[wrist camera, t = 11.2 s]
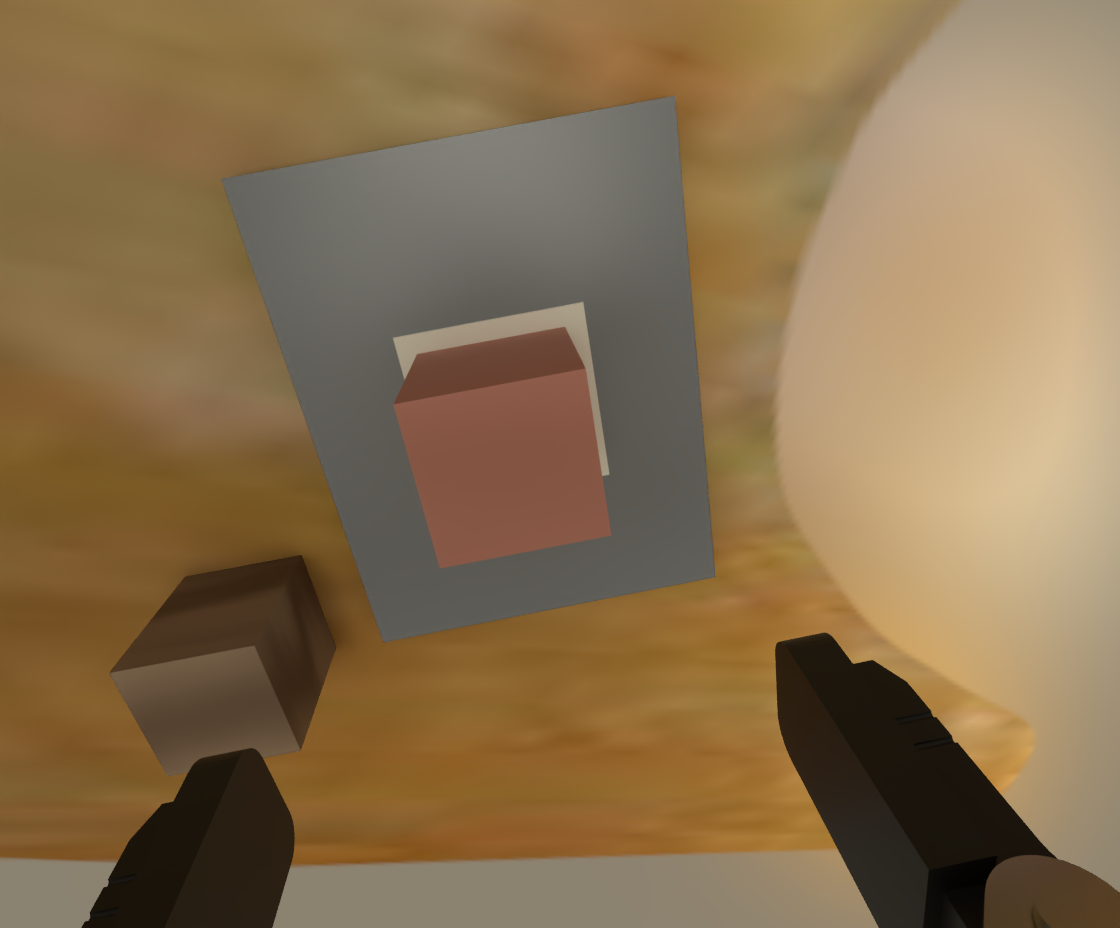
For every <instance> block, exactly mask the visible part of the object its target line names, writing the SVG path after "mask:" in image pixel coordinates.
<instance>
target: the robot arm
mask: <svg viewBox="0 0 1120 928" xmlns="http://www.w3.org/2000/svg"><path fill="white" fill-rule="evenodd" d="M775 658H776V682H777V706H778V720H779V725H780V730H781V734H782V737H783V740H784V743H785V746H786V749H787V751H788V754H789V756H790V758H791V760H792V762H793V764H794V766H795V768H796V770H797V772H798V774H799V776H800V777H801V779H802V781H803V783H804V785H805V787H806V789H807V791H808V793H809V795H810V797H811V799H812V800H813V802H814V804H815V806H816V808H817V810H818V812H819V814H820V816H821V818H822V820H823V822H824V823H825V825H826V827H827V829H828V831H829V833H830V835H831V837H832V839H833V841H834V843H835V845H836V846H837V848H838V850H839V852H840V854H841V856H842V858H843V860H844V862H845V864H846V866H847V868H848V869H849V871H850V873H851V875H852V877H853V879H854V881H855V883H856V885H857V887H858V889H859V891H860V892H861V894H862V896H863V898H864V900H865V902H866V904H867V906H868V908H869V910H870V911H871V914H872V915H873V917H874V919H875V921H876V923H877V925H878V927H879V928H1120V892H1118V891H1117V890H1115V889H1114V888H1113V887H1112V886H1110V885H1109V884H1108V883H1107V882H1105V881H1103V880H1102V879H1100V878H1099V877H1097V876H1096V875H1094V874H1092V873H1090V872H1089V871H1087V870H1085V869H1083V868H1081V867H1079V866H1076V865H1074V864H1071V863H1069V862H1066V861H1063V860H1059V859H1057V858H1056V857H1055V856H1054V855H1053V854H1052V853H1050V852H1049V851H1048V849H1047V848H1046V847H1045V846H1044V845H1043V844H1042V843H1041V842H1040V841H1039V840H1038V838H1037V837H1036V836H1035V835H1034V834H1033V832H1032V831H1031V830H1030V829H1029V828H1028V826H1027V825H1026V824H1025V823H1024V822H1023V820H1022V819H1021V818H1020V817H1019V816H1018V815H1017V813H1016V812H1015V811H1014V810H1013V809H1012V807H1011V806H1010V805H1009V804H1008V803H1007V802H1006V800H1005V799H1004V798H1003V797H1002V795H1001V794H1000V793H999V792H998V791H997V789H996V788H995V787H994V786H993V785H992V783H991V782H990V781H989V780H988V779H987V777H986V776H985V775H984V774H983V773H982V771H981V770H980V769H979V768H978V767H977V765H976V764H975V763H974V762H973V761H972V759H971V758H970V757H969V756H968V755H967V753H966V752H965V751H964V750H963V749H962V747H961V746H960V745H959V744H958V743H955V742H954V741H953V739H952V735H951V734H950V733H949V732H948V731H947V729H946V728H945V727H944V726H943V725H942V723H941V722H940V721H939V720H938V719H937V717H933V716H932V713H931V710H930V709H929V708H928V707H927V706H926V704H925V703H924V702H923V701H922V700H921V698H920V697H919V696H918V695H917V694H916V692H915V691H914V690H913V689H912V688H911V686H910V685H909V684H908V683H907V682H906V681H905V680H903V679H901V678H900V677H898V676H897V675H895V674H894V673H892V672H890V671H889V670H887V669H886V668H884V667H883V666H881V665H880V664H878V663H876V662H875V661H873V660H871V661H866V662H861V663H856V664H853V663H852V662H851V661H850V659H849V658H848V657H847V655H846V654H845V653H844V651H843V650H842V649H841V647H840V646H839V645H838V643H837V642H836V641H835V640H834V638H833V637H832V636H831V635H830V634H828V633H820V634H815V635H810V636H805V637H801V638H796V639H791V640H786V641H781V642H778V643H777V644H776V649H775ZM294 839H295V838H294V825H293V820H292V817H291V814H290V812H289V810H288V808H287V806H286V804H285V802H284V800H283V798H282V796H281V794H280V792H279V790H278V788H277V786H276V784H275V782H274V780H273V778H272V776H271V774H270V772H269V770H268V768H267V766H266V764H265V762H264V760H263V758H262V756H261V754H260V753H259V752H258V751H257V750H256V749H254V748H248V749H243V750H238V751H233V752H228V753H223V754H218V755H214V756H209V757H204V758H201V759H199V760H197V761H196V762H195V763H194V764H193V765H192V767H191V769H190V770H189V772H188V774H187V776H186V778H185V780H184V782H183V784H182V786H181V788H180V790H179V792H178V794H177V796H176V798H175V799H174V801H173V802H169V803H165V804H162V805H161V806H160V807H159V808H158V809H157V810H156V811H155V813H154V814H153V815H152V816H151V817H150V818H149V819H148V820H147V821H146V823H145V824H144V825H143V826H142V827H141V828H140V829H139V830H138V831H137V833H136V834H135V835H134V836H133V837H132V838H131V839H130V841H129V842H128V844H127V846H126V848H125V850H124V851H123V853H122V855H121V857H120V859H119V860H118V862H117V864H116V866H115V868H114V870H113V871H112V873H111V875H110V877H109V879H108V881H109V884H108V886H107V887H104V888H103V890H102V891H101V893H100V895H99V897H98V899H97V900H96V902H95V904H94V906H93V908H92V910H91V912H90V919H89V921H86V922H84V924H83V926H82V928H272V927H273V923H274V920H275V916H276V913H277V910H278V906H279V903H280V899H281V896H282V892H283V889H284V886H285V882H286V879H287V876H288V872H289V869H290V865H291V862H292V858H293V852H294Z"/></svg>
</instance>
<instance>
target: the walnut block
mask: <svg viewBox="0 0 1120 928" xmlns="http://www.w3.org/2000/svg"><path fill="white" fill-rule="evenodd" d="M335 649H336V646H335V643H334V640H333V638H332V635H331V632H330V630H329V627H328V624H327V622H326V619H325V617H324V614H323V611H322V609H321V606H320V603H319V601H318V598H317V595H316V593H315V590H314V587H313V585H312V582H311V579H310V577H309V574H308V571H307V569H306V566H305V563H304V561H303V558H302V555H300V556H295V557H289V558H284V559H278V560H273V561H268V562H262V563H257V564H251V565H246V566H241V567H235V568H230V569H224V570H219V571H214V572H208V573H203V574H198V575H192V576H187V577H185V578H184V579H183V580H182V581H181V583H180V584H179V585H178V587H177V588H176V589H175V590H174V592H173V593H172V594H171V595H170V597H169V598H168V599H167V600H166V602H165V603H164V604H163V606H162V607H161V608H160V609H159V611H158V612H157V613H156V614H155V616H154V617H153V618H152V619H151V621H150V622H149V623H148V624H147V626H146V627H145V628H144V630H143V631H142V632H141V633H140V635H139V636H138V637H137V638H136V640H135V641H134V642H133V643H132V645H131V646H130V647H129V649H128V650H127V651H126V652H125V654H124V655H123V656H122V657H121V659H120V660H119V661H118V662H117V664H116V665H115V666H114V667H113V669H112V670H111V671H110V673H109V674H110V676H111V677H112V679H113V681H114V683H115V684H116V686H117V688H118V690H119V692H120V693H121V695H122V697H123V699H124V700H125V702H126V704H127V706H128V707H129V709H130V711H131V713H132V714H133V716H134V718H135V720H136V721H137V723H138V725H139V727H140V728H141V730H142V732H143V734H144V735H145V737H146V739H147V741H148V742H149V744H150V746H151V748H152V749H153V751H154V753H155V755H156V756H157V758H158V760H159V762H160V764H161V765H162V767H163V769H164V771H165V772H166V774H167V776H172V775H177V774H183V773H188V772H189V770H190V769H191V767H192V765H193V764H194V763H195V762H196V761H197V760H199V759H201V758H204V757H209V756H214V755H218V754H223V753H228V752H233V751H238V750H243V749H248V748H254V749H256V750H257V751H258V752H259V753H260V754H261V756H262V758H265V757H270V756H276V755H281V754H286V753H291V752H296V751H301V748H302V745H303V742H304V739H305V737H306V734H307V731H308V728H309V725H310V722H311V719H312V716H313V713H314V710H315V707H316V704H317V702H318V699H319V696H320V693H321V690H322V687H323V684H324V681H325V678H326V675H327V672H328V669H329V666H330V664H331V661H332V658H333V655H334V652H335Z"/></svg>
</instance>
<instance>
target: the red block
mask: <svg viewBox="0 0 1120 928" xmlns="http://www.w3.org/2000/svg"><path fill="white" fill-rule="evenodd" d="M393 405H394V409H395V412H396V416H397V420H398V423H399V427H400V430H401V434H402V437H403V441H404V444H405V448H406V451H407V455H408V458H409V462H410V465H411V469H412V472H413V476H414V479H415V483H416V486H417V490H418V493H419V497H420V500H421V504H422V507H423V511H424V514H425V518H426V521H427V525H428V529H429V532H430V536H431V539H432V543H433V546H434V550H435V553H436V557H437V560H438V564H439V567H440V568H445V567H450V566H455V565H461V564H466V563H471V562H476V561H482V560H487V559H492V558H497V557H502V556H508V555H513V554H518V553H523V552H528V551H534V550H539V549H544V548H549V547H555V546H560V545H565V544H570V543H575V542H581V541H586V540H591V539H596V538H601V537H607V536H611V530H610V524H609V517H608V510H607V504H606V497H605V491H604V484H603V478H602V471H601V465H600V458H599V452H598V445H597V439H596V432H595V426H594V419H593V412H592V406H591V399H590V393H589V386H588V380H587V373H586V368H585V366H584V364H583V362H582V360H581V358H580V356H579V354H578V352H577V350H576V348H575V346H574V344H573V342H572V340H571V338H570V336H569V334H568V332H567V330H566V328H565V327H560V328H555V329H549V330H544V331H539V332H533V333H528V334H522V335H517V336H512V337H506V338H501V339H495V340H490V341H485V342H479V343H474V344H468V345H463V346H458V347H452V348H447V349H442V350H436V351H431V352H425V353H420V354H417V355H416V357H415V359H414V361H413V364H412V366H411V368H410V370H409V372H408V374H407V376H406V378H405V381H404V383H403V385H402V387H401V389H400V391H399V393H398V395H397V398H396V400H395V402H394V404H393Z"/></svg>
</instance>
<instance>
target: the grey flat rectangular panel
mask: <svg viewBox="0 0 1120 928" xmlns="http://www.w3.org/2000/svg"><path fill="white" fill-rule="evenodd" d="M222 182H223V185H224V188H225V191H226V194H227V197H228V199H229V202H230V205H231V208H232V211H233V214H234V217H235V219H236V222H237V225H238V228H239V231H240V234H241V237H242V239H243V242H244V245H245V248H246V251H247V254H248V257H249V259H250V262H251V265H252V268H253V271H254V274H255V277H256V279H257V282H258V285H259V288H260V291H261V294H262V297H263V299H264V302H265V305H266V308H267V311H268V314H269V317H270V319H271V322H272V325H273V328H274V331H275V334H276V337H277V339H278V342H279V345H280V348H281V351H282V354H283V357H284V359H285V362H286V365H287V368H288V371H289V374H290V377H291V380H292V382H293V385H294V388H295V391H296V394H297V397H298V400H299V402H300V405H301V408H302V411H303V414H304V417H305V420H306V422H307V425H308V428H309V431H310V434H311V437H312V440H313V442H314V445H315V448H316V451H317V454H318V457H319V460H320V462H321V465H322V468H323V471H324V474H325V477H326V480H327V482H328V485H329V488H330V491H331V494H332V497H333V500H334V502H335V505H336V508H337V511H338V514H339V517H340V520H341V522H342V525H343V528H344V531H345V534H346V537H347V540H348V542H349V545H350V548H351V551H352V554H353V557H354V560H355V562H356V565H357V568H358V571H359V574H360V577H361V580H362V582H363V585H364V588H365V591H366V594H367V597H368V600H369V602H370V605H371V608H372V611H373V614H374V617H375V620H376V622H377V625H378V628H379V631H380V634H381V637H382V640H383V642H388V641H393V640H398V639H403V638H408V637H413V636H418V635H423V634H428V633H433V632H439V631H444V630H449V629H454V628H459V627H464V626H469V625H474V624H479V623H484V622H489V621H494V620H500V619H505V618H510V617H515V616H520V615H525V614H530V613H535V612H540V611H545V610H550V609H556V608H561V607H566V606H571V605H576V604H581V603H586V602H591V601H596V600H601V599H606V598H611V597H617V596H622V595H627V594H632V593H637V592H642V591H647V590H652V589H657V588H662V587H667V586H672V585H678V584H683V583H688V582H693V581H698V580H703V579H708V578H713V577H715V567H714V555H713V543H712V532H711V520H710V508H709V496H708V484H707V472H706V460H705V449H704V437H703V425H702V413H701V401H700V389H699V377H698V365H697V354H696V342H695V330H694V318H693V306H692V294H691V282H690V271H689V259H688V247H687V235H686V223H685V211H684V199H683V187H682V176H681V164H680V152H679V140H678V128H677V116H676V104H675V96H671V97H666V98H660V99H655V100H649V101H644V102H638V103H633V104H627V105H622V106H616V107H611V108H606V109H600V110H595V111H589V112H584V113H578V114H573V115H567V116H562V117H556V118H551V119H546V120H540V121H535V122H529V123H524V124H518V125H513V126H507V127H502V128H496V129H491V130H486V131H480V132H475V133H469V134H464V135H458V136H453V137H447V138H442V139H436V140H431V141H426V142H420V143H415V144H409V145H404V146H398V147H393V148H387V149H382V150H376V151H371V152H366V153H360V154H355V155H349V156H344V157H338V158H333V159H327V160H322V161H316V162H311V163H306V164H300V165H295V166H289V167H284V168H278V169H273V170H267V171H262V172H256V173H251V174H246V175H240V176H235V177H229V178H224V179H222ZM560 327H565V328H566V330H567V332H568V334H569V336H570V338H571V340H572V342H573V344H574V346H575V348H576V350H577V352H578V354H579V356H580V358H581V360H582V362H583V364H584V366H585V368H586V373H587V380H588V386H589V393H590V399H591V406H592V412H593V419H594V426H595V432H596V439H597V445H598V452H599V458H600V465H601V471H602V478H603V484H604V491H605V497H606V504H607V510H608V517H609V524H610V530H611V536H607V537H601V538H596V539H591V540H586V541H581V542H575V543H570V544H565V545H560V546H555V547H549V548H544V549H539V550H534V551H528V552H523V553H518V554H513V555H508V556H502V557H497V558H492V559H487V560H482V561H476V562H471V563H466V564H461V565H455V566H450V567H445V568H440V567H439V564H438V560H437V557H436V553H435V550H434V546H433V543H432V539H431V536H430V532H429V529H428V525H427V521H426V518H425V514H424V511H423V507H422V504H421V500H420V497H419V493H418V490H417V486H416V483H415V479H414V476H413V472H412V469H411V465H410V462H409V458H408V455H407V451H406V448H405V444H404V441H403V437H402V434H401V430H400V427H399V423H398V420H397V416H396V412H395V409H394V405H393V404H394V402H395V400H396V398H397V395H398V393H399V391H400V389H401V387H402V385H403V383H404V381H405V378H406V376H407V374H408V372H409V370H410V368H411V366H412V364H413V361H414V359H415V357H416V355H417V354H420V353H425V352H431V351H436V350H442V349H447V348H452V347H458V346H463V345H468V344H474V343H479V342H485V341H490V340H495V339H501V338H506V337H512V336H517V335H522V334H528V333H533V332H539V331H544V330H549V329H555V328H560Z"/></svg>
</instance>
